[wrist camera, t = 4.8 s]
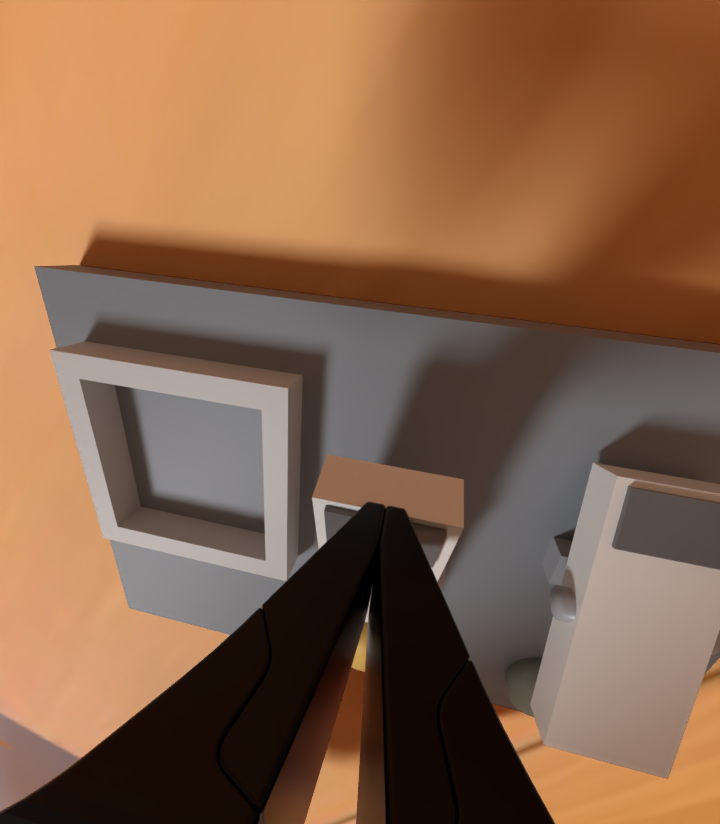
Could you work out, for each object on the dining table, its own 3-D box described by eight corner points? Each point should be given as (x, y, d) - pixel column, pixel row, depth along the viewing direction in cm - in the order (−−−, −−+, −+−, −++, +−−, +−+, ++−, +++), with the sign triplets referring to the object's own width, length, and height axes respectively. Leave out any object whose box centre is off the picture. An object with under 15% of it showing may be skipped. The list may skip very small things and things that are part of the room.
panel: (626, 702, 16) (661, 782, 13) (150, 583, 19) (109, 630, 17) (880, 364, 9) (1040, 403, 7) (78, 264, 12) (-10, 267, 10)
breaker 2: (650, 735, 11) (684, 789, 9) (520, 701, 11) (534, 747, 10) (733, 486, 9) (785, 506, 8) (581, 460, 10) (607, 475, 8)
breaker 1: (423, 600, 14) (420, 640, 13) (327, 578, 14) (318, 615, 13) (477, 481, 8) (479, 537, 7) (314, 451, 8) (296, 500, 7)
